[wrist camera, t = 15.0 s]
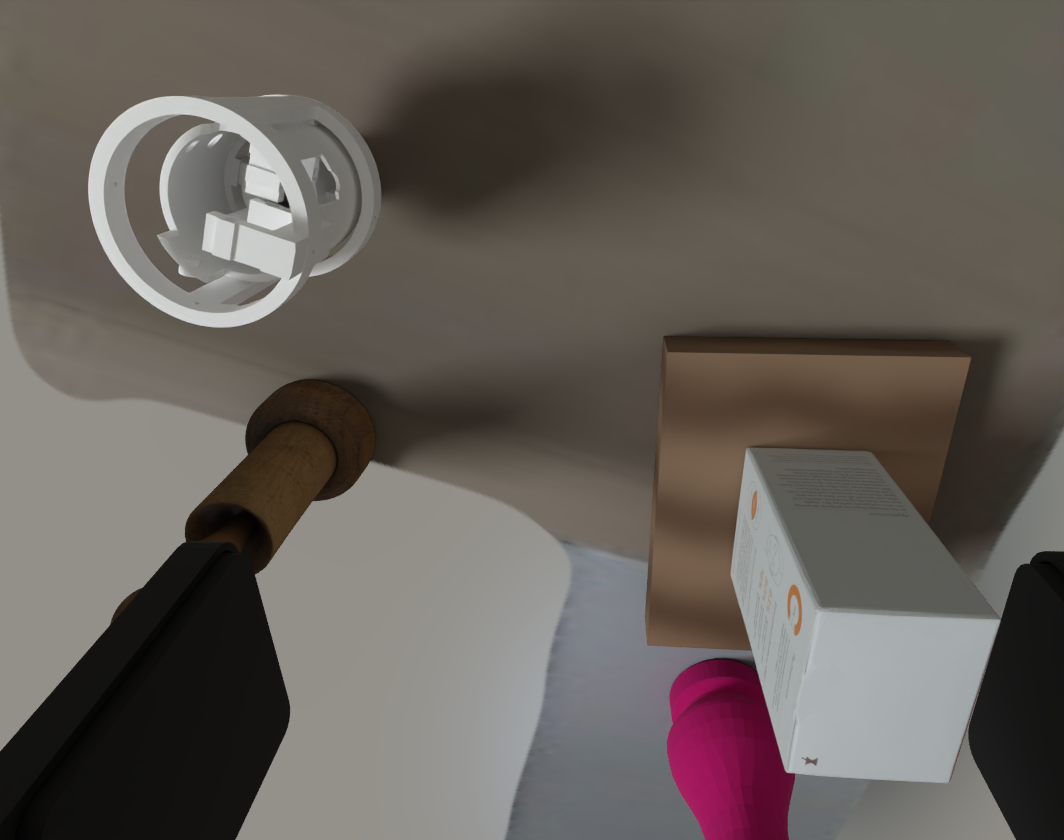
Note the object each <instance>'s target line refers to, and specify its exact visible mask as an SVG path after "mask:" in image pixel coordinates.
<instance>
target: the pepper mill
mask: <svg viewBox="0 0 1064 840" xmlns="http://www.w3.org/2000/svg"><path fill="white" fill-rule="evenodd" d="M670 706H671V715H672V722H673V726H672V727H671V730H670V732H669V735H668V740H667V753H668V758H669V763H670V768H671V772H672V776H673V778H674V780H675V782H676V785H677V787H678V789H679V791H680V793H681V795H682V796H683V798H684V799H685V801H686V802H687V804H688V805H689V807H690V809H691V810H692V812H693V813H694V815H695V817H696V818H697V820H698V822H699V825H700V827H701V830H702V832H703V835H704V837H705V840H789V837H788V811H789V805H790V799H791V795H792V790H793V785H794V781H795V773H787V772H786V771H785V769H784V765H783V762H782V758H781V754H780V751H779V747H778V744H777V740H776V736H775V733H774V729H773V726H772V722H771V718H770V715H769V711H768V707H767V704H766V701H765V697H764V693H763V690H762V686H761V682H760V679H759V675H758V673H757V672H756V671H755V670H754V669H752V668H751V667H749V666H747V665H745V664H742V663H739V662H736V661H733V660H721V659H713V660H708V661H703V662H700V663H697V664H695V665H693V666H690V667H689V668H687V669H686V670H685V671H684V672H682V673H681V674H680V675H679V676H678V677H677V679H676V680H675V681H674V683H673V685H672V687H671V691H670Z"/></svg>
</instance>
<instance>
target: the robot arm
mask: <svg viewBox="0 0 1064 840" xmlns="http://www.w3.org/2000/svg"><path fill="white" fill-rule="evenodd" d="M289 718H290V704H289V699H288V696H287V692H286V688H285V684H284V681H283V677H282V673H281V670H280V666H279V662H278V658H277V655H276V651H275V647H274V644H273V640H272V636H271V633H270V629H269V625H268V622H267V618H266V614H265V611H264V607H263V603H262V599H261V596H260V593H259V589H258V585H257V581H256V577H255V574H254V570H253V566H252V563H251V560H250V558H249V557H248V556H247V554H243V553H239V551H238V548H237V547H236V546H235V545H234V544H233V543H230V542H203V541H189V542H185V543H183V544H181V546H179V547H178V548H177V549H176V550H175V551H174V552H173V554H172V555H171V556H170V557H169V558H168V559H167V561H166V562H165V563H164V564H163V565H162V566H161V567H160V568H159V570H158V571H157V572H156V573H155V574H154V575H153V577H152V578H151V579H150V580H149V581H148V582H147V583H146V585H145V586H144V587H143V588H142V589H141V590H140V591H139V593H138V594H137V595H136V596H135V597H134V598H133V600H132V601H131V602H130V603H129V604H128V605H127V606H126V608H125V609H124V610H123V611H122V612H121V613H120V614H119V616H118V617H117V618H116V619H115V620H114V621H113V623H112V624H111V625H110V626H109V627H108V628H107V630H106V631H105V632H104V633H103V634H102V635H101V636H100V637H99V639H98V640H97V641H96V642H95V643H94V645H93V646H92V647H91V648H90V649H89V650H88V651H87V652H86V654H85V655H84V656H83V657H82V658H81V659H80V660H79V662H78V663H77V664H76V665H75V666H74V667H73V669H72V670H71V671H70V672H69V673H68V675H66V677H65V678H64V679H63V680H62V681H61V682H60V683H59V685H58V686H57V687H56V688H55V690H53V692H52V693H51V694H50V695H49V696H48V697H47V698H46V700H45V701H44V702H43V703H42V704H41V705H40V707H39V708H38V709H37V710H36V711H35V712H34V713H33V715H32V716H31V717H30V718H29V719H28V720H27V721H26V723H25V724H24V725H23V726H22V727H21V728H20V730H19V731H18V732H17V733H16V734H15V735H14V736H13V738H12V739H11V740H10V741H9V742H8V743H7V744H6V746H5V747H4V748H3V749H2V750H1V751H0V840H235V839H236V837H237V835H238V833H239V831H240V829H241V827H242V824H243V822H244V820H245V818H246V816H247V814H248V812H249V810H250V808H251V805H252V803H253V801H254V799H255V797H256V795H257V792H258V791H259V788H260V786H261V784H262V782H263V780H264V778H265V776H266V773H267V771H268V769H269V767H270V765H271V763H272V761H273V759H274V757H275V754H276V752H277V750H278V748H279V746H280V744H281V742H282V740H283V737H284V735H285V733H286V730H287V727H288V723H289ZM968 732H969V733H968V734H969V745H970V749H971V753H972V756H973V758H974V760H975V762H976V764H977V766H978V768H979V770H980V772H981V774H982V776H983V778H984V780H985V781H986V783H987V785H988V787H989V789H990V791H991V793H992V795H993V797H994V799H995V800H996V802H997V804H998V806H999V808H1000V810H1001V812H1002V814H1003V816H1004V818H1005V819H1006V821H1007V823H1008V825H1009V827H1010V829H1011V831H1012V833H1013V835H1014V836H1015V838H1016V840H1064V552H1055V551H1053V552H1052V551H1044V552H1040V553H1037V554H1036V555H1035V556H1034V557H1033V558H1032V560H1031V562H1030V564H1023V565H1021V566H1020V567H1019V568H1018V569H1017V571H1016V573H1015V575H1014V579H1013V582H1012V585H1011V589H1010V592H1009V595H1008V599H1007V602H1006V605H1005V608H1004V612H1003V615H1002V618H1001V622H1000V625H999V628H998V632H997V635H996V638H995V642H994V645H993V648H992V652H991V655H990V658H989V662H988V665H987V668H986V672H985V675H984V678H983V682H982V685H981V688H980V692H979V695H978V698H977V701H976V705H975V708H974V711H973V715H972V718H971V721H970V725H969V731H968Z"/></svg>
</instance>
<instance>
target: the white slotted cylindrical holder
mask: <svg viewBox="0 0 1064 840" xmlns="http://www.w3.org/2000/svg"><path fill="white" fill-rule="evenodd" d="M183 114H186V115H194V116H199V117H203V118H207V119H210V120H213V121H215V123H211V124H201V125H198V126H196V127H194V128H192V129H190V130H189V131H187V132H186V133H185V134H183V135H182V136H181V137H180V138H179V139H178V140H177V141H176V142H175V143H174V145H173V146H172V147H171V149H170V151H169V152H168V154H167V156H166V158H165V161H164V164H163V167H162V171H161V177H160V200H161V206H162V210H163V214H164V217H165V220H166V222H167V225H168V227H169V229H170V231H167V232H164V233H161V234H158V235H157V236H158V238H159V240H160V242H161V243H162V245H163V246H164V248H165V249H166V251H167V252H168V253H169V254H170V256H171V257H172V258H173V259H174V260H175V261H176V262H177V263H178V264H179V273H180V274H181V275H184V276H187V277H196V278H197V279H199V280H201V281H203V282H205V283H208V282H210V281H212V280H214V279H217V278H219V277H221V276H223V275H225V276H223V277H221V278H219V279H217V280H215V281H212V282H210V283H208V284H206V285H204V286H202V287H200V288H198V289H196V290H194V291H192V292H190V293H188V292H186V291H184V290H182V289H181V288H179V287H178V286H176V285H175V284H173V283H172V282H171V281H170V280H168V279H167V278H166V277H165V276H164V275H163V274H162V273H161V272H160V271H159V270H158V269H157V268H156V267H155V266H154V265H153V264H152V263H151V261H150V260H149V259H148V257H147V256H146V255H145V253H144V252H143V250H142V249H141V247H140V245H139V243H138V242H137V240H136V238H135V235H134V233H133V231H132V228H131V226H130V223H129V219H128V216H127V211H126V206H125V197H124V183H125V175H126V170H127V166H128V163H129V160H130V157H131V155H132V153H133V151H134V149H135V147H136V146H137V144H138V143H139V141H140V140H141V139H142V137H143V136H144V135H145V134H146V133H147V132H148V131H149V130H151V129H152V128H153V127H154V126H156V125H157V124H159V123H161V122H163V121H165V120H167V119H169V118H172V117H175V116H178V115H183ZM322 124H323V125H322ZM324 125H325V126H326V127H325V126H324ZM248 152H249V153H250V157H249V156H247V154H248ZM88 193H89V204H90V211H91V215H92V220H93V223H94V227H95V230H96V232H97V235H98V238H99V240H100V242H101V244H102V246H103V248H104V250H105V252H106V254H107V256H108V258H109V259H110V261H111V262H112V264H113V265H114V267H115V268H116V270H117V271H118V272H119V274H120V275H121V276H122V277H123V278H124V280H125V281H126V282H127V283H128V284H129V285H130V286H131V287H132V288H133V289H134V290H135V291H136V292H137V293H138V294H139V295H141V296H142V297H143V298H144V299H146V300H147V301H148V302H150V303H151V304H152V305H154V306H155V307H157V308H159V309H160V310H162V311H164V312H165V313H167V314H169V315H171V316H174V317H176V318H178V319H181V320H183V321H186V322H189V323H193V324H197V325H202V326H208V327H233V326H240V325H244V324H248V323H251V322H254V321H256V320H259V319H261V318H263V317H264V316H266V315H268V314H269V313H271V312H272V311H274V310H275V309H277V308H278V307H280V306H281V305H283V304H284V303H286V302H287V301H288V300H290V299H291V298H292V297H293V296H294V295H295V294H296V293H297V292H298V291H299V290H300V289H301V287H302V286H303V285H304V283H305V282H306V280H307V279H308V277H310V276H316V275H321V274H324V273H327V272H329V271H332V270H334V269H336V268H337V267H339V266H341V265H342V264H344V263H345V262H347V261H348V260H350V259H351V258H352V257H354V256H355V255H356V254H357V253H358V252H359V251H360V250H361V249H362V248H363V247H364V246H365V245H366V243H367V242H368V240H369V239H370V237H371V235H372V233H373V231H374V229H375V227H376V224H377V221H378V218H379V213H380V207H381V184H380V178H379V173H378V169H377V166H376V163H375V160H374V158H373V155H372V153H371V151H370V149H369V147H368V145H367V144H366V142H365V140H364V139H363V137H362V136H361V135H360V133H359V132H358V131H357V130H356V128H355V127H354V126H353V125H352V124H351V123H350V122H349V121H348V120H347V119H346V118H345V117H343V116H342V115H341V114H340V113H338V112H337V111H335V110H334V109H332V108H331V107H329V106H327V105H325V104H323V103H321V102H319V101H317V100H314V99H311V98H307V97H303V96H298V95H265V96H259V97H214V98H212V97H205V96H168V97H160V98H155V99H151V100H148V101H145V102H142V103H140V104H137V105H135V106H133V107H132V108H130V109H128V110H127V111H125V112H124V113H123V114H121V115H120V116H119V117H118V118H117V119H116V120H115V121H114V122H113V123H112V124H111V125H110V126H109V127H108V128H107V130H106V131H105V133H104V134H103V136H102V137H101V139H100V141H99V143H98V145H97V147H96V150H95V152H94V155H93V158H92V162H91V166H90V172H89V183H88ZM359 217H360V218H359ZM358 220H359V222H358ZM357 222H358V225H357V227H356V230H355V232H354V234H353V235H352V237H351V239H350V240H349V241H348V243H347V244H346V245H345V246H344V247H343V248H342V249H341V250H340V251H339V252H338V253H336V254H334V255H332V256H329V257H327V256H328V254H329V252H330V249H332V248H334V247H335V246H337V245H339V244H340V243H341V242H343V241H344V240H345V239H346V238H347V237H348V236H349V235H350V233H351V232H352V231H353V229H354V228H355V226H356V224H357ZM280 279H281V280H280ZM278 280H280V282H279V283H278V285H277V286H276V287H275V288H274V289H273V290H272V292H271V293H269V294H268V295H267V296H266V297H265V298H263V299H260V300H257V301H254V302H252V303H249V304H246V305H242V306H237V305H238V304H240V303H241V302H243V301H245V300H246V299H248V298H250V297H251V296H253V295H255V294H256V293H258V292H260V291H262V290H263V289H265V288H267V287H268V286H270V285H272V284H273V283H275V282H277V281H278Z"/></svg>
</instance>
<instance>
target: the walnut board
mask: <svg viewBox="0 0 1064 840" xmlns="http://www.w3.org/2000/svg"><path fill="white" fill-rule="evenodd" d="M970 361H971V357H970V356H969V355H967V354H966V353H964V352H963V351H962V350H960V349H959V348H957V347H956V346H955V345H953V344H952V343H951V342H949V341H930V340H865V339H800V338H735V337H670V336H663V351H662V366H661V382H660V397H659V412H658V427H657V442H656V458H655V473H654V488H653V503H652V518H651V534H650V549H649V564H648V579H647V594H646V610H645V623H646V635H647V645H650V646H670V647H690V648H710V649H730V650H750V651H752V648H751V645H750V641H749V637H748V634H747V630H746V626H745V623H744V619H743V616H742V613H741V609H740V606H739V603H738V599H737V596H736V592H735V589H734V585H733V581H732V578H731V565H732V556H733V547H734V539H735V531H736V523H737V515H738V507H739V499H740V491H741V484H742V476H743V469H744V462H745V454H746V449H747V448H750V447H751V448H791V449H816V450H851V451H868V452H872V453H873V454H874V456H875V457H876V458H877V460H878V461H879V462H880V463H881V465H882V466H883V467H884V468H885V470H886V471H887V472H888V474H889V475H890V477H891V478H892V479H893V480H894V481H895V483H896V484H897V485H898V487H899V488H900V489H901V490H902V492H903V493H904V494H905V496H906V497H907V498H908V500H909V501H910V502H911V503H912V505H913V506H914V507H915V509H916V510H917V511H918V513H919V514H920V515H921V516H922V518H923V519H924V520H925V522H926V523H927V524H928V525H930V521H931V517H932V513H933V509H934V505H935V501H936V497H937V493H938V489H939V485H940V481H941V477H942V473H943V469H944V465H945V461H946V457H947V453H948V449H949V445H950V441H951V437H952V433H953V429H954V425H955V421H956V417H957V413H958V409H959V405H960V401H961V397H962V393H963V389H964V385H965V381H966V377H967V373H968V369H969V365H970Z"/></svg>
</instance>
